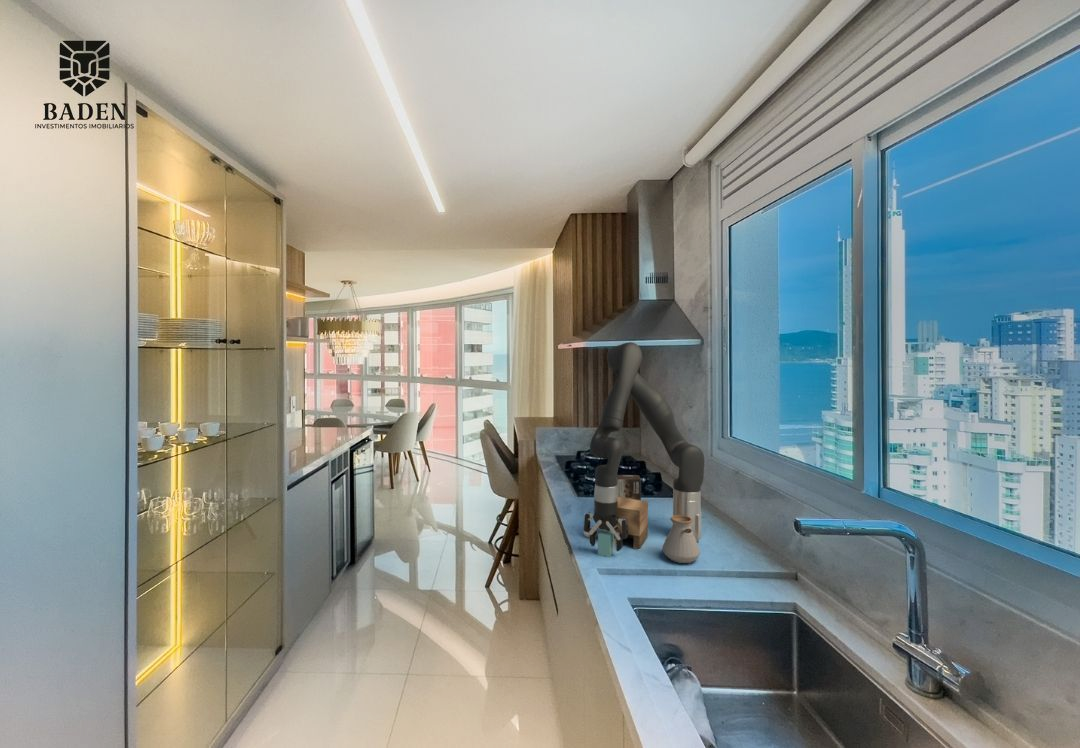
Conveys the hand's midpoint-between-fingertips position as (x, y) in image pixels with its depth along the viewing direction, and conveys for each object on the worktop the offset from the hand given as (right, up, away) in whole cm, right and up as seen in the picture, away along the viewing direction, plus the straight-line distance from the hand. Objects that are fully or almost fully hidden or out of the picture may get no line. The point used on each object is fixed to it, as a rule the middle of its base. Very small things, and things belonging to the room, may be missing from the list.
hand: (605, 547), depth 147 cm
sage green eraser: (+3, -2, +6) cm, 7 cm away
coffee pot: (+23, -3, -8) cm, 24 cm away
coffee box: (+14, -1, +34) cm, 37 cm away
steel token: (-3, -2, +15) cm, 15 cm away
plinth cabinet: (+8, -2, +11) cm, 14 cm away
